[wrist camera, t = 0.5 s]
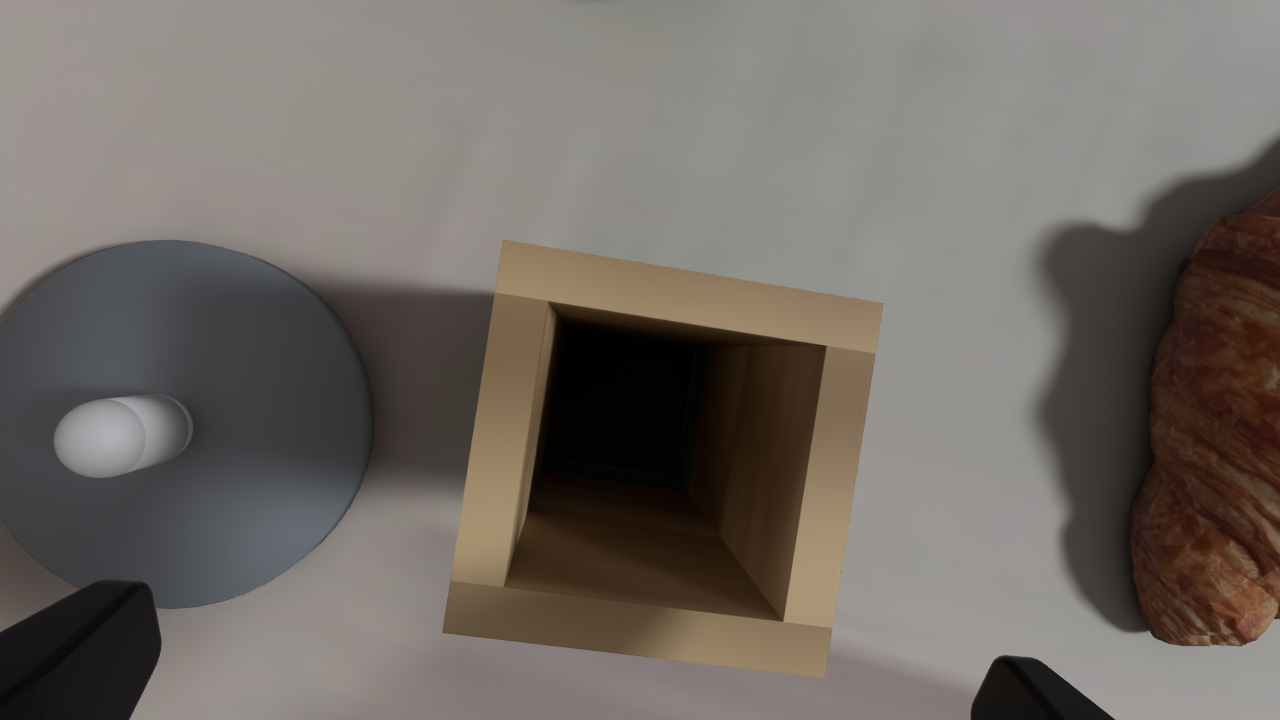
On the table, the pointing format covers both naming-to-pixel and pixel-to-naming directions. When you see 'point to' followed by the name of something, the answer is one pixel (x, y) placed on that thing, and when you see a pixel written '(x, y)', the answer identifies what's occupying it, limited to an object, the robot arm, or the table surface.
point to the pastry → (1215, 443)
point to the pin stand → (178, 421)
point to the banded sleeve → (664, 504)
